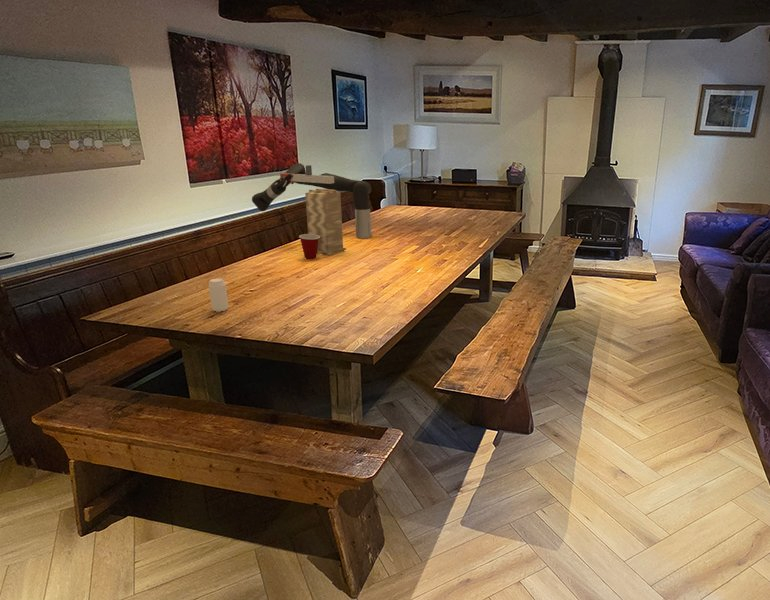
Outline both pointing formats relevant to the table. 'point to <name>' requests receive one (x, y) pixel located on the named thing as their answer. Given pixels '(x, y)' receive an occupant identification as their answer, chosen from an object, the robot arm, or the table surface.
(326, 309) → the table surface
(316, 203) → the stand
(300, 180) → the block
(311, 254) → the plastic cup
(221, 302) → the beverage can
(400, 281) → the table surface
